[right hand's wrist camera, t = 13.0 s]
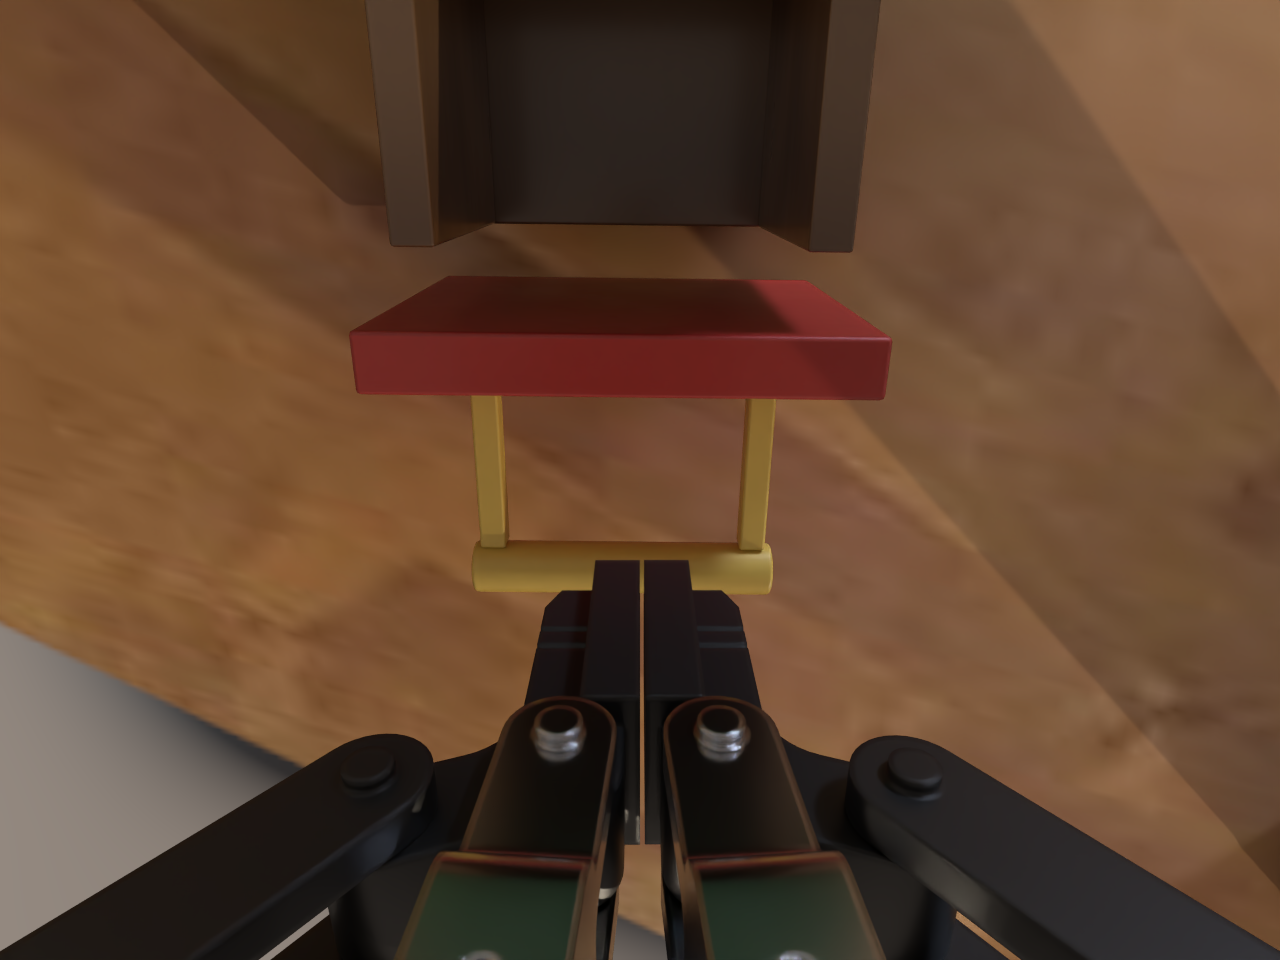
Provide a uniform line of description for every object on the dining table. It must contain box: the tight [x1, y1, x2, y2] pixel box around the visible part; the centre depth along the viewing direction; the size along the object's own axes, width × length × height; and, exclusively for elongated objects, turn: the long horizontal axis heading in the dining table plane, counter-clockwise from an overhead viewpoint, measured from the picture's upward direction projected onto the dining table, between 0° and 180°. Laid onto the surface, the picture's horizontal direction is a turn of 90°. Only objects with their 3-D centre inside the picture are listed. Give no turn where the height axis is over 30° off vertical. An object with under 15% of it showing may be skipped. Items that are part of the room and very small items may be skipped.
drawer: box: [349, 0, 892, 595], centre depth 16 cm, size 24×10×8 cm, turn 179°
